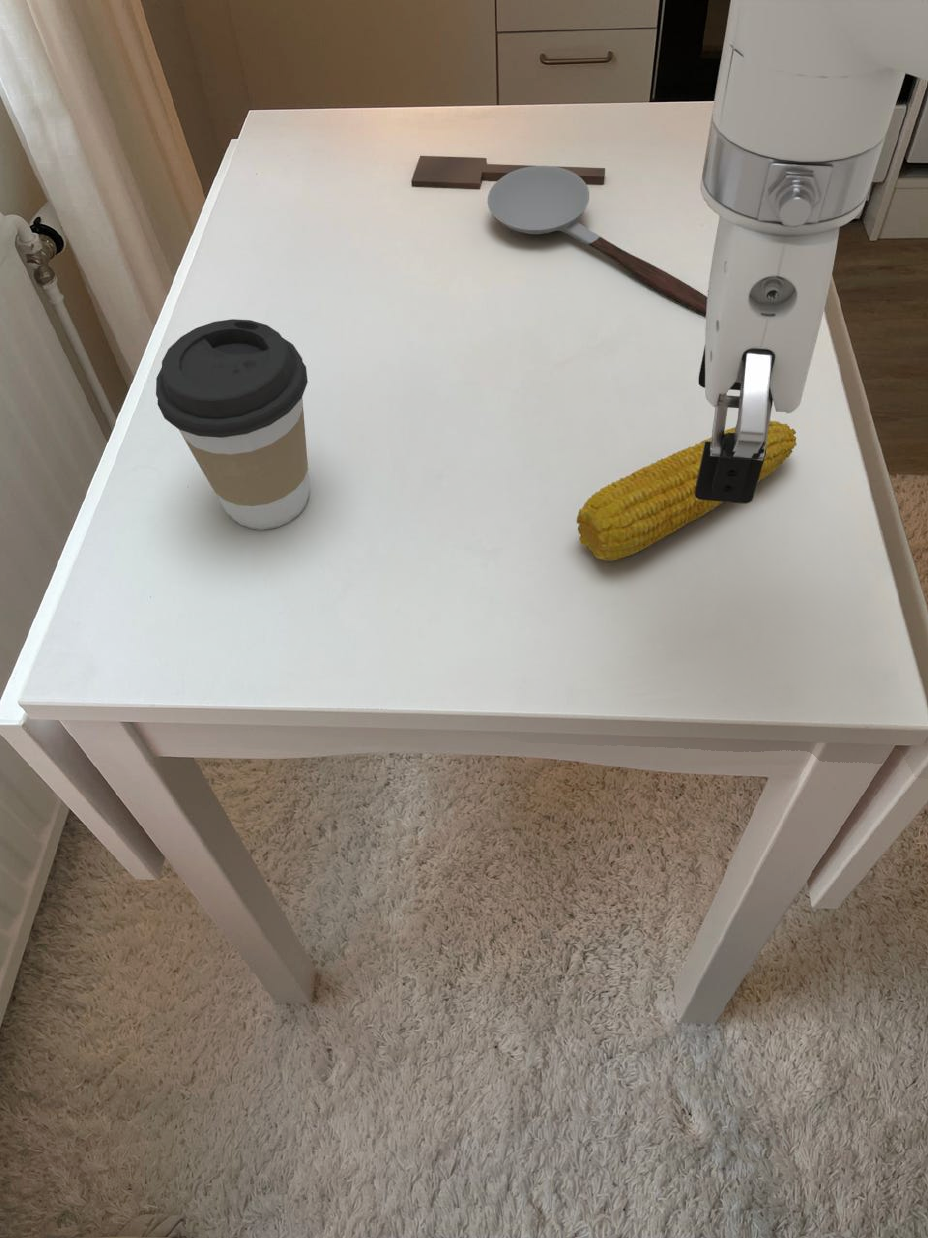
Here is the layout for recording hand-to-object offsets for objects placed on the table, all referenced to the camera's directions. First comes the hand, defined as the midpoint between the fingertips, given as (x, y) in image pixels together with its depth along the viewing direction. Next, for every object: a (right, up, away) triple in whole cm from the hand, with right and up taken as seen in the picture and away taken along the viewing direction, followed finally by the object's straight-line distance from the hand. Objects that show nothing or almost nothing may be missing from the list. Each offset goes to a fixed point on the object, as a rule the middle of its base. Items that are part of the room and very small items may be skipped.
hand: (723, 439), depth 57 cm
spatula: (-10, +41, +53) cm, 68 cm away
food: (+3, -2, +22) cm, 22 cm away
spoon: (0, +26, +43) cm, 50 cm away
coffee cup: (-32, -1, +25) cm, 41 cm away
